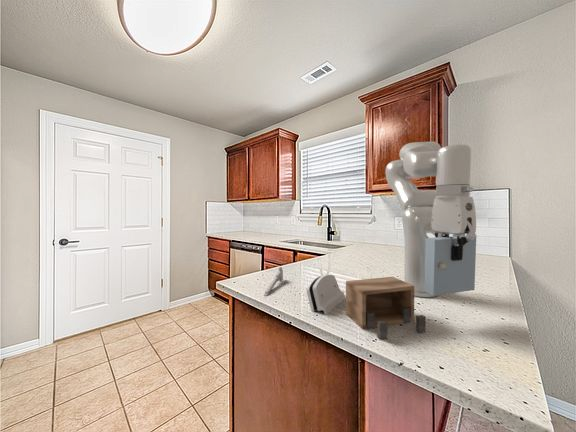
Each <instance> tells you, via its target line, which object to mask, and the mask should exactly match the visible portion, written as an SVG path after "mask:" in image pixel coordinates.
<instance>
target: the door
mask: <svg viewBox="0 0 576 432" xmlns="http://www.w3.org/2000/svg"><path fill="white" fill-rule="evenodd" d="M459 239H460V236H459ZM452 246H454V244H453V235H452V236H449V237H429V238H426V246H425V292H427V293H429V294H431V295H433V296H434V295H437V296H439V295H447V294H448V295H449V294H457V293H462V292H469V291H475V288H476V287H475V286H476V262H477V261H476V260H477V255H476V254H477V253H476V252H477V237H476V238H475V239H472V240H469V241H468V242H467V243H466V245H465V246H463V257H462V260H458V261H453V260H451V247H452Z"/></svg>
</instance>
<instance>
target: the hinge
mask: <svg viewBox="0 0 576 432" xmlns="http://www.w3.org/2000/svg"><path fill="white" fill-rule="evenodd" d="M306 295H307V299H308V302H309V306H310V311H311V312H315V311H317V312H321V311H323V313H324V315H325V316H327V314H329V313H330V312H331V311H333V309H334V308H335V307H336V306H338V305H339V304H340V303H341V302H342V301H343V300H344V299H346V294H345V292H344V291H342V290H341V289H340V286H339V284H338V281H337V279H336V276H335V275H333V274H324V275H319V276H318V277H316V278H314V279H313V280H311V281H310V283H309V284H308V285H307V287H306Z"/></svg>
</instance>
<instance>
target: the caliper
mask: <svg viewBox="0 0 576 432" xmlns="http://www.w3.org/2000/svg"><path fill="white" fill-rule="evenodd" d="M283 280H284V272H283V268H282V266H279V268H278V271H277V272H276V274H275V277H274V278H273V280H272V281H271V283H270V284H269V285H268V287H267V288H266V290H265V291H264V293H263V294H264V295H263V296H264V297H267V296H268V295H270V293H271V291H272V290H273V288H274V286H275V285H276V283H277V282H282V281H283Z"/></svg>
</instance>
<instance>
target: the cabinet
mask: <svg viewBox="0 0 576 432" xmlns="http://www.w3.org/2000/svg"><path fill="white" fill-rule="evenodd" d="M345 315H346V316H347V317H348V318H350V320H351V321H353V322H354V323H355V324H356V325H357V326H358V327H360V329H362V330H365V329H366V330H369V329H374V328H377V329H376V330H377V331H376V332H377V333H376V335H377V336H376V338H377V339H379V340H386V339H388V326H393V325H401V324H409V323H414V322H415V332H417V333H418V334H421V333H426V322H427V321H426V320H427V319H426V316H425V315H424V314H418V315H415V296H414V286H413V285H411V284H409V283H406V282H404V280H402V279H399V278H397V277H394V276H386V277H375V278H365V279H364V278H363V279H354V280H353V279H351V280H346V281H345Z"/></svg>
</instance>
